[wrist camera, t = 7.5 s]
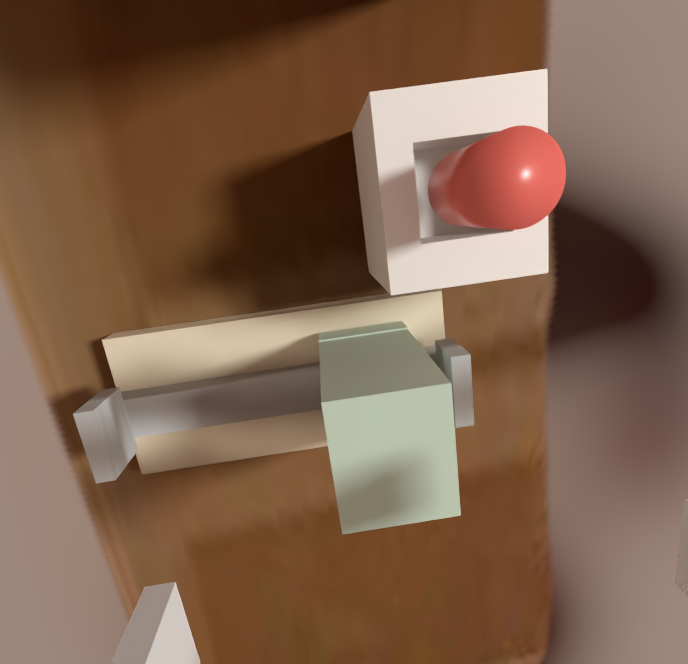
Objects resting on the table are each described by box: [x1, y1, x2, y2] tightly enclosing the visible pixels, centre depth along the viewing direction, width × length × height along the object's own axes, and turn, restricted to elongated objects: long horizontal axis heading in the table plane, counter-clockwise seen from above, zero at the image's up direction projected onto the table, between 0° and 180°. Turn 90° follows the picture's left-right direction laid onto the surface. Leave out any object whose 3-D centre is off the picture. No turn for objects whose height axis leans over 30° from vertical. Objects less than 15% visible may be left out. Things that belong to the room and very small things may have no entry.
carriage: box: [318, 321, 461, 534], centre depth 22 cm, size 6×5×10 cm
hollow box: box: [352, 69, 548, 295], centre depth 22 cm, size 8×7×8 cm
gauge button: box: [428, 125, 566, 230], centre depth 15 cm, size 3×3×5 cm
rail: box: [73, 289, 474, 483], centre depth 25 cm, size 9×20×6 cm, turn 98°
